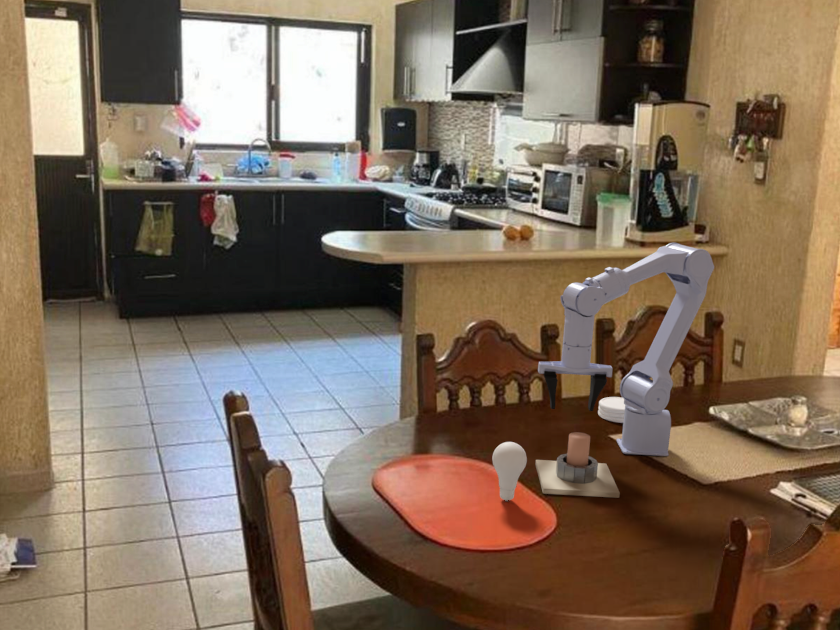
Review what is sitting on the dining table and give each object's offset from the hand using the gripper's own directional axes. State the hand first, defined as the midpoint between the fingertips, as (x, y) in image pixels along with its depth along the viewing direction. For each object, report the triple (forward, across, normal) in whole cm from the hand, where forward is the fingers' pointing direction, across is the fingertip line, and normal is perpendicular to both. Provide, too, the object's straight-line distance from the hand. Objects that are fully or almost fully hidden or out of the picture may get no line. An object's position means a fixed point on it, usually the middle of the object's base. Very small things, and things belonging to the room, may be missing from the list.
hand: (571, 408), depth 180 cm
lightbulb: (+11, +14, +23) cm, 29 cm away
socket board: (+10, 0, +12) cm, 16 cm away
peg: (+9, 0, +12) cm, 15 cm away
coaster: (+11, -16, -28) cm, 34 cm away
